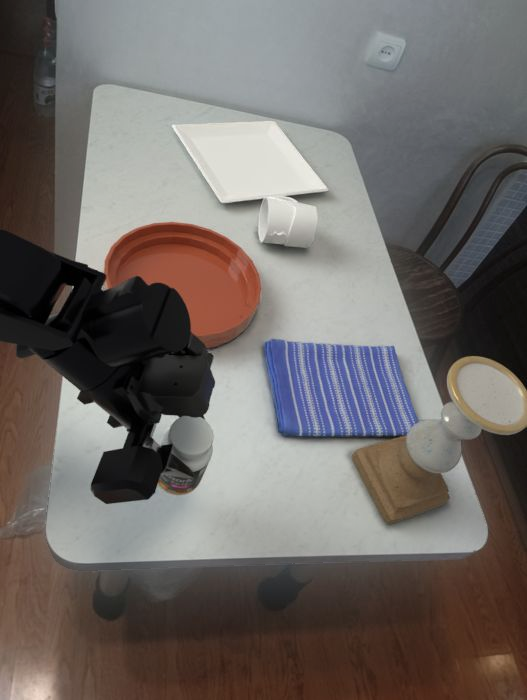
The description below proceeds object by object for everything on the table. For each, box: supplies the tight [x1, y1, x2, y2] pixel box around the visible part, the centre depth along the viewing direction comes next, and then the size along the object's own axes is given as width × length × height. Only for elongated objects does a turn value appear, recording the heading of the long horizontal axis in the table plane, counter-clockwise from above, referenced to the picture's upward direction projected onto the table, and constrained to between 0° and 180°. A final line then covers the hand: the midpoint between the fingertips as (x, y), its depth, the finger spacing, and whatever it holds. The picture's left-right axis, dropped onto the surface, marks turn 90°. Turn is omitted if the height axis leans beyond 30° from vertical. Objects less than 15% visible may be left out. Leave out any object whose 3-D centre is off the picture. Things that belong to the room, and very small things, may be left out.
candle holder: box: [351, 355, 527, 525], centre depth 69 cm, size 11×11×24 cm
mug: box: [257, 196, 319, 249], centre depth 102 cm, size 12×9×8 cm
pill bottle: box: [157, 416, 215, 496], centre depth 60 cm, size 6×6×10 cm
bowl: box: [102, 221, 263, 349], centre depth 89 cm, size 25×25×4 cm
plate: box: [171, 120, 330, 204], centre depth 116 cm, size 26×26×2 cm
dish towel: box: [263, 337, 419, 438], centre depth 85 cm, size 17×24×3 cm
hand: (197, 452), depth 58 cm, fingers closed on pill bottle, 6 cm apart
